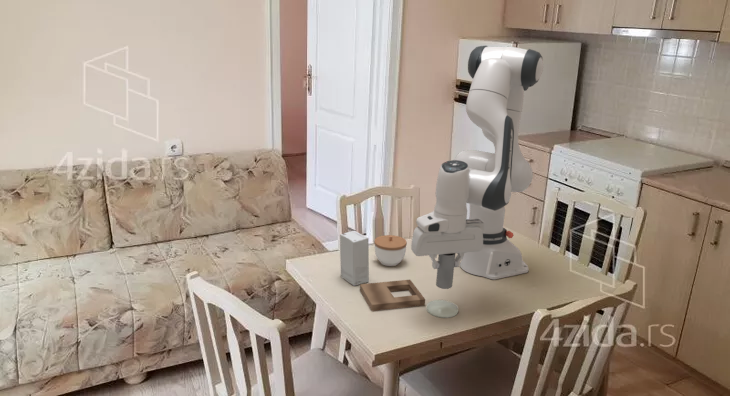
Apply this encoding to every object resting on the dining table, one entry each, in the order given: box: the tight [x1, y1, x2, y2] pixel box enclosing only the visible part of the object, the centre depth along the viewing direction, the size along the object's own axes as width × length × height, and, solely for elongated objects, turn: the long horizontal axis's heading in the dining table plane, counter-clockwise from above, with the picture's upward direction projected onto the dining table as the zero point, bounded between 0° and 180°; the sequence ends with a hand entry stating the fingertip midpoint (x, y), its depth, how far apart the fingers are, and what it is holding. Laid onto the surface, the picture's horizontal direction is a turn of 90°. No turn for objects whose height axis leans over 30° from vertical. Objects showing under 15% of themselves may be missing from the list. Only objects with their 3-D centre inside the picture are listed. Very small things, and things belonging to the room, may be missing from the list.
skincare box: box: [339, 230, 370, 287], centre depth 185 cm, size 8×6×15 cm
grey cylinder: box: [435, 253, 456, 290], centre depth 166 cm, size 4×4×10 cm
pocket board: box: [359, 279, 426, 312], centre depth 176 cm, size 16×13×2 cm
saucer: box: [426, 299, 459, 319], centre depth 170 cm, size 9×9×1 cm
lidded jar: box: [374, 234, 407, 267], centre depth 199 cm, size 11×11×9 cm
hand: (445, 267), depth 166 cm, fingers closed on grey cylinder, 5 cm apart
